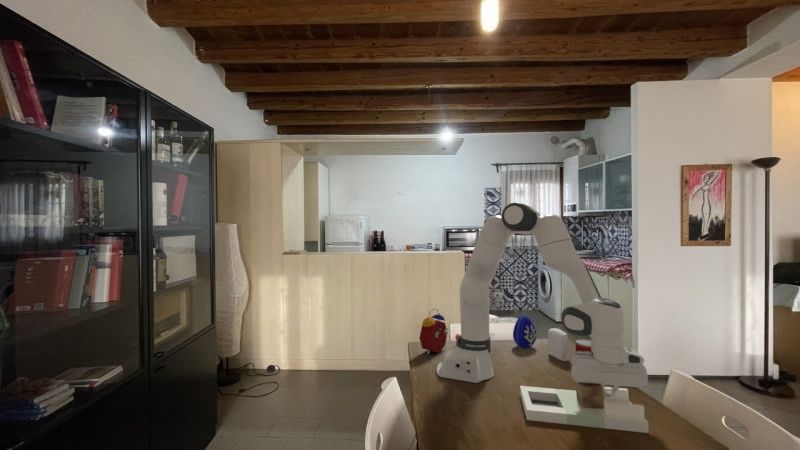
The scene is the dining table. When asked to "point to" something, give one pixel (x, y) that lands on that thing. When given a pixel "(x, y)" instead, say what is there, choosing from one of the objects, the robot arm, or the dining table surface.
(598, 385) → the walnut block
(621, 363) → the robot arm
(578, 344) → the canned food
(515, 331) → the ornament
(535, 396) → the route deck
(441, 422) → the dining table surface
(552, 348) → the white rounded block
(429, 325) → the alarm clock
